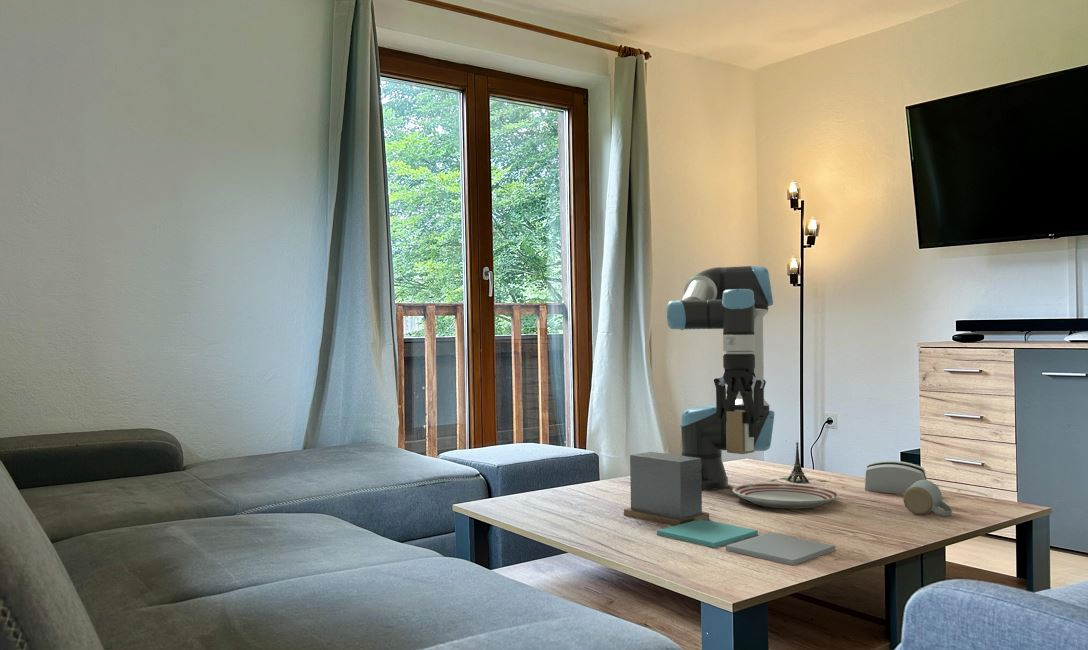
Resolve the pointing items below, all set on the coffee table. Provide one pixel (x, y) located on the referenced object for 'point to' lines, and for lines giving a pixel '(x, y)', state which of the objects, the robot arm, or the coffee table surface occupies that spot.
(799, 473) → the eiffel tower figurine
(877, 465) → the napkin holder
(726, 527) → the teal pad
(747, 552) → the grey pad
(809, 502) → the dinner plate
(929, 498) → the ceramic mug
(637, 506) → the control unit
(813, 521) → the coffee table surface
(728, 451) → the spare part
